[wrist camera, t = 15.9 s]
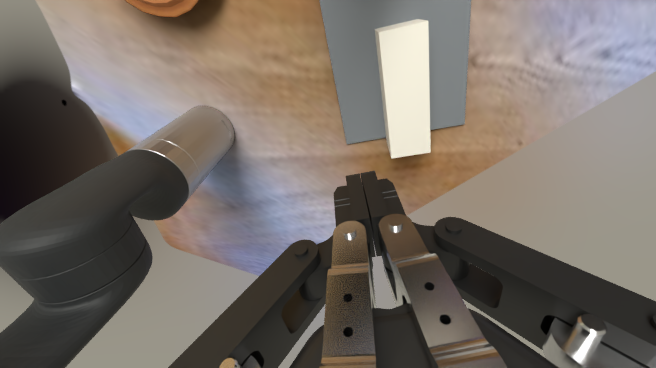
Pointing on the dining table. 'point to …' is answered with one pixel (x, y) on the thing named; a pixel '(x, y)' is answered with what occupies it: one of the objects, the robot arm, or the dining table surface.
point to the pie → (164, 6)
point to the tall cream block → (405, 86)
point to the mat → (362, 61)
